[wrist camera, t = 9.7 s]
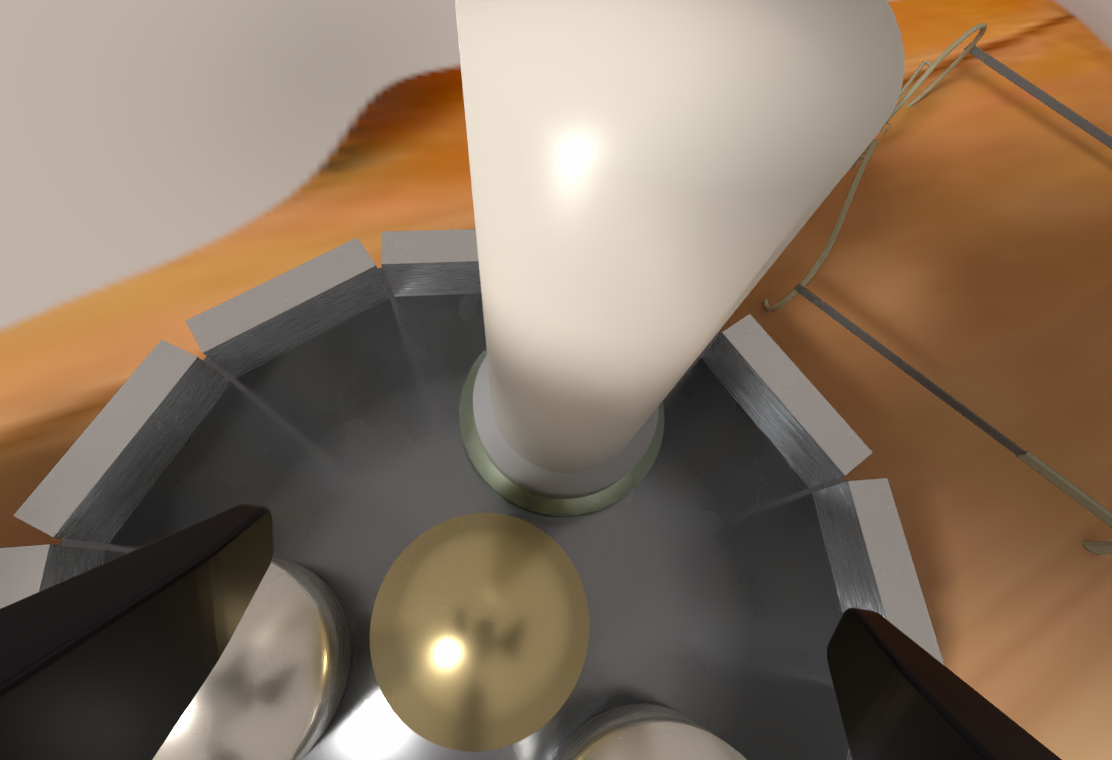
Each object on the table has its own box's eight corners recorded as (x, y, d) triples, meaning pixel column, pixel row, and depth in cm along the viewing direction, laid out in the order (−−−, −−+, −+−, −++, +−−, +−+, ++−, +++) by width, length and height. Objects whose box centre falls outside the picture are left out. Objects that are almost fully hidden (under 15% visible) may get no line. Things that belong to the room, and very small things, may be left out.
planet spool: (684, 434, 18) (1070, 85, 5) (541, 536, 16) (638, 369, 4) (581, 304, 19) (710, -200, 7) (441, 387, 17) (291, -70, 5)
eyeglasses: (892, 91, 27) (973, -14, 22) (1190, 261, 24) (1350, 183, 20) (727, 312, 22) (787, 235, 17) (1086, 557, 19) (1271, 546, 14)
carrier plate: (1000, 1095, 13) (1200, 1300, 10) (-88, 1326, 11) (-420, 1733, 7) (775, 262, 22) (832, 191, 18) (133, 284, 19) (39, 206, 16)
